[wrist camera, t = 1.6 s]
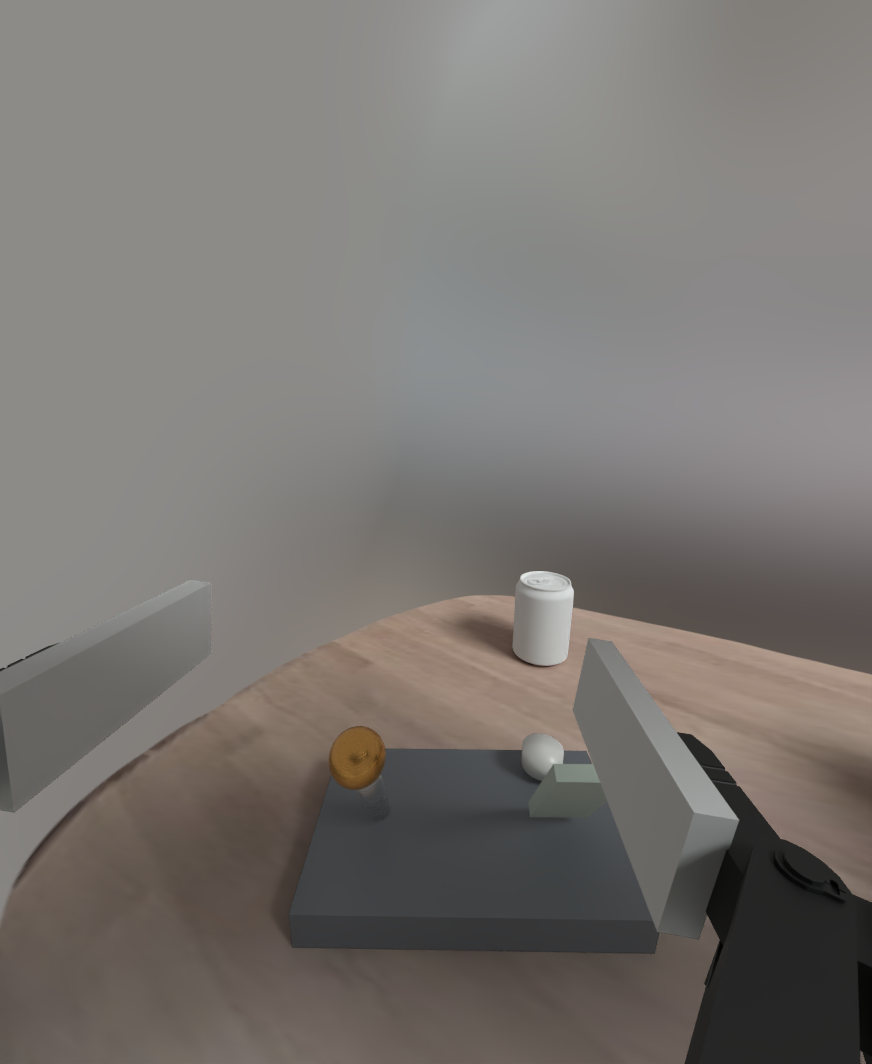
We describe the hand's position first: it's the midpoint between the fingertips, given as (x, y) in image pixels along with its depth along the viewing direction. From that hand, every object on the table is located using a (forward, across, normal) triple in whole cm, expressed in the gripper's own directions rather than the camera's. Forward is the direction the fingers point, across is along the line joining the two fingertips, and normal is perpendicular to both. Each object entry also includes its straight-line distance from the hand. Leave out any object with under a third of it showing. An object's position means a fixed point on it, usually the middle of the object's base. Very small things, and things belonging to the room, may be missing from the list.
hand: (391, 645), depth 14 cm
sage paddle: (+15, +12, -21) cm, 29 cm away
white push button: (+20, +12, -21) cm, 31 cm away
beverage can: (+45, +16, -23) cm, 53 cm away
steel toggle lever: (+14, -2, -22) cm, 27 cm away
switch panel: (+15, +6, -25) cm, 30 cm away
